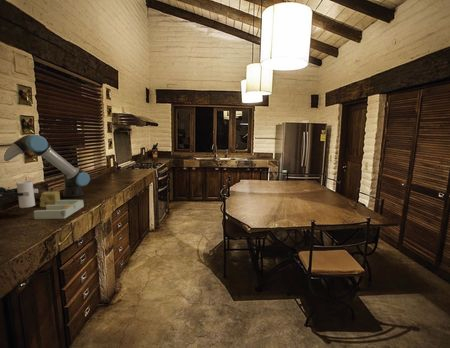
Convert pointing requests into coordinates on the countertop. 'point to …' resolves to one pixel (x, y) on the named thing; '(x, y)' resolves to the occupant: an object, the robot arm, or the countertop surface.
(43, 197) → the cheese
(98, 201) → the countertop surface
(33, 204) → the cup
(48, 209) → the tray
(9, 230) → the countertop surface
